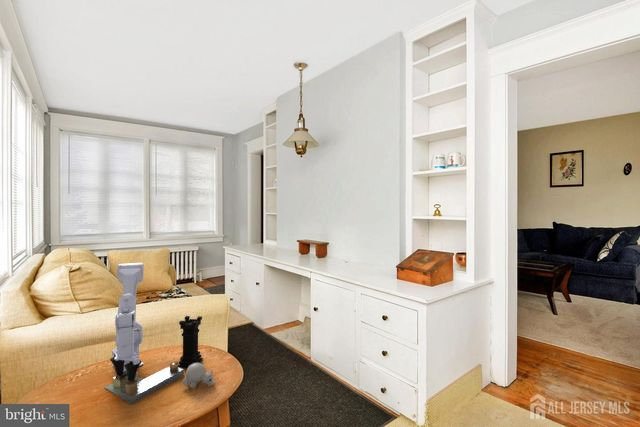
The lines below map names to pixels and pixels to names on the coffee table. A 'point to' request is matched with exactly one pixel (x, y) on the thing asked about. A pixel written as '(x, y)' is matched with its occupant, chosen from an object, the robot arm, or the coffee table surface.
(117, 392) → the rubber mat
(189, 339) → the chess piece
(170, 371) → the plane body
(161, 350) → the coffee table surface
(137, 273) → the robot arm
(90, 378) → the coffee table surface
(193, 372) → the chubby cartoon animal
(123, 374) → the pale yellow block
